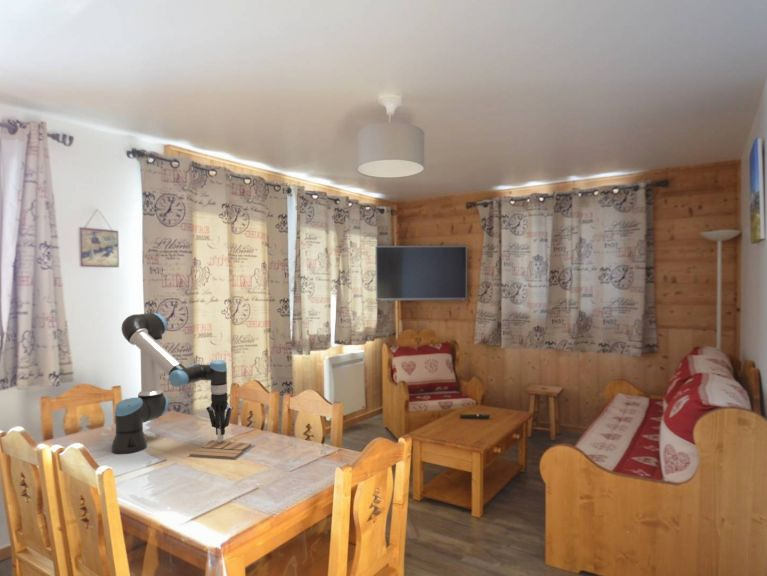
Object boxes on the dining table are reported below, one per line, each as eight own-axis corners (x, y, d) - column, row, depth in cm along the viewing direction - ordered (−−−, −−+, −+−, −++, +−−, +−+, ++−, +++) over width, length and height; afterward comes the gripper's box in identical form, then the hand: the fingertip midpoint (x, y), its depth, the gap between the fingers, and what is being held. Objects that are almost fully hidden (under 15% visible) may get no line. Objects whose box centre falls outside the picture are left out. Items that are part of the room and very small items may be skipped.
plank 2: (222, 451, 226) (222, 448, 226) (232, 444, 235) (231, 442, 235) (242, 452, 224) (242, 449, 224) (251, 445, 233) (251, 443, 233)
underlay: (186, 459, 219) (186, 453, 219) (210, 444, 239) (210, 439, 239) (235, 462, 215) (235, 457, 215) (256, 447, 234) (255, 442, 234)
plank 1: (201, 449, 228) (201, 447, 228) (212, 442, 237) (212, 440, 237) (221, 450, 226) (221, 448, 226) (231, 443, 235) (230, 441, 235)
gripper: (202, 394, 232) (204, 443, 232) (227, 395, 229) (229, 444, 230) (211, 390, 239) (212, 438, 240) (235, 391, 237) (236, 439, 237)
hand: (220, 441), depth 235 cm, fingers closed
